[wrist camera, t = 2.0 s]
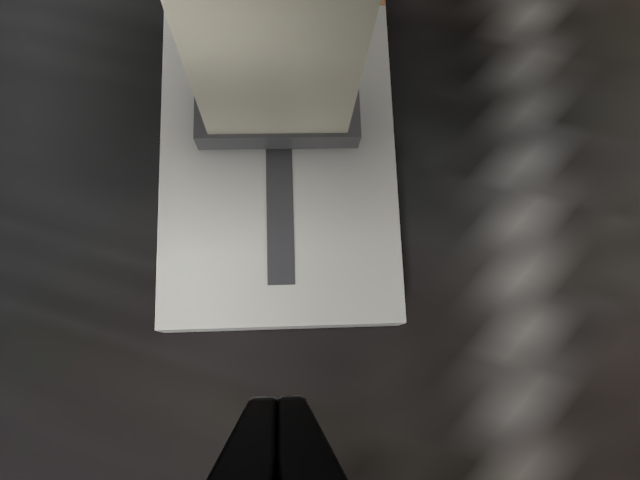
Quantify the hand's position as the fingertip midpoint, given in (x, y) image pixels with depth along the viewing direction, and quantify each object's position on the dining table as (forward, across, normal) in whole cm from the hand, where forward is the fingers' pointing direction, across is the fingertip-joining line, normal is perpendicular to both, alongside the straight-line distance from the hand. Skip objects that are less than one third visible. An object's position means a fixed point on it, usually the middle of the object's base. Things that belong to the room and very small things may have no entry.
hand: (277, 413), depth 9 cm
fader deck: (+16, 0, +2) cm, 16 cm away
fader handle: (+15, 0, +1) cm, 15 cm away
